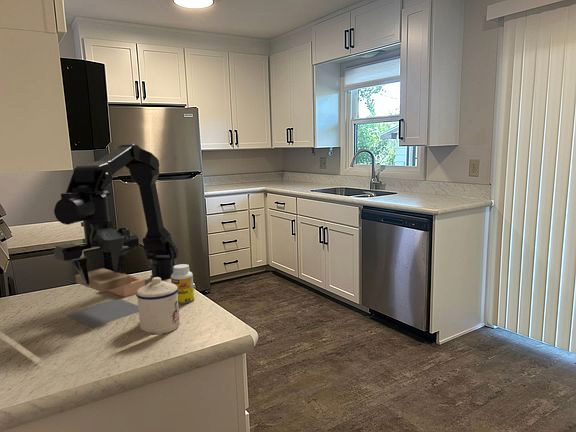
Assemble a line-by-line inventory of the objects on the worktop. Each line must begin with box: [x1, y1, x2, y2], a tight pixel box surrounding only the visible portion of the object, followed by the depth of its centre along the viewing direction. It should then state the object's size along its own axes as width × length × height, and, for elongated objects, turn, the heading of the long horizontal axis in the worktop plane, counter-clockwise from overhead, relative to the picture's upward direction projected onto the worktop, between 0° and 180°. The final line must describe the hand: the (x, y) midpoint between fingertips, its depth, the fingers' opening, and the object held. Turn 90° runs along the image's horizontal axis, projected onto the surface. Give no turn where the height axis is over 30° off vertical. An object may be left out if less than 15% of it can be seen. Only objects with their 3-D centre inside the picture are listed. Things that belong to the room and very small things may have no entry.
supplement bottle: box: [170, 263, 195, 306], centre depth 110 cm, size 6×6×10 cm
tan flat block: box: [74, 267, 131, 293], centre depth 103 cm, size 7×13×2 cm, turn 51°
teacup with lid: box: [135, 277, 181, 336], centre depth 96 cm, size 12×9×12 cm
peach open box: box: [107, 273, 146, 298], centre depth 121 cm, size 6×11×4 cm, turn 51°
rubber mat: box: [64, 298, 139, 329], centre depth 105 cm, size 14×14×1 cm
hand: (102, 280), depth 104 cm, fingers closed on tan flat block, 7 cm apart
